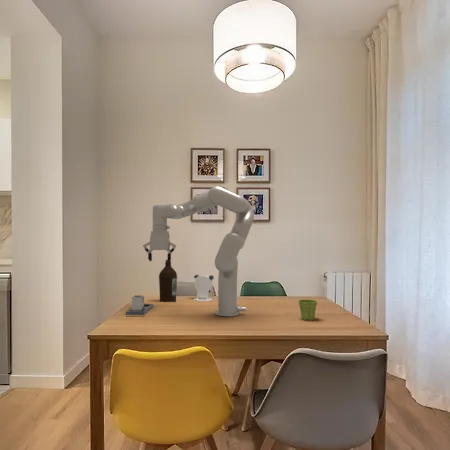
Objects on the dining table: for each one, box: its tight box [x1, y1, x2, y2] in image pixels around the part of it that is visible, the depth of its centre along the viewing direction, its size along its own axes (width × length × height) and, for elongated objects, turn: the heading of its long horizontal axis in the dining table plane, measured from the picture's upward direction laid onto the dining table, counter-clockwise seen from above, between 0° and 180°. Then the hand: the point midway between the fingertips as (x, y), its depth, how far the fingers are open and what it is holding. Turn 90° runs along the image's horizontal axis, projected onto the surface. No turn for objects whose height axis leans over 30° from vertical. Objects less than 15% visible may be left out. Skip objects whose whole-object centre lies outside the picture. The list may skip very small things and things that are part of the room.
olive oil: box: [158, 259, 178, 303], centre depth 240 cm, size 11×11×25 cm
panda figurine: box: [193, 274, 215, 302], centre depth 250 cm, size 12×11×15 cm
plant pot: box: [297, 299, 319, 321], centre depth 196 cm, size 9×9×9 cm
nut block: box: [131, 294, 145, 311], centre depth 204 cm, size 5×5×8 cm
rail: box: [125, 303, 154, 318], centre depth 210 cm, size 9×22×2 cm, turn 178°
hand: (159, 261), depth 214 cm, fingers open, 9 cm apart
